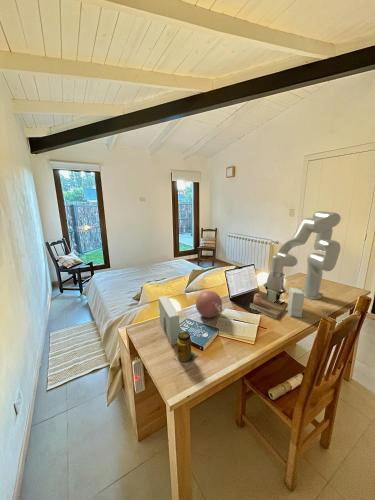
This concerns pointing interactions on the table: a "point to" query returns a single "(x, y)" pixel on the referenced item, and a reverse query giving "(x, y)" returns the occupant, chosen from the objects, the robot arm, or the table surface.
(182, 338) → the condiment
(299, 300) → the skincare box
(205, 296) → the pink ball
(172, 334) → the skincare box
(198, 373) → the table surface
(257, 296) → the jar
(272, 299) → the carton
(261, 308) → the shelf
